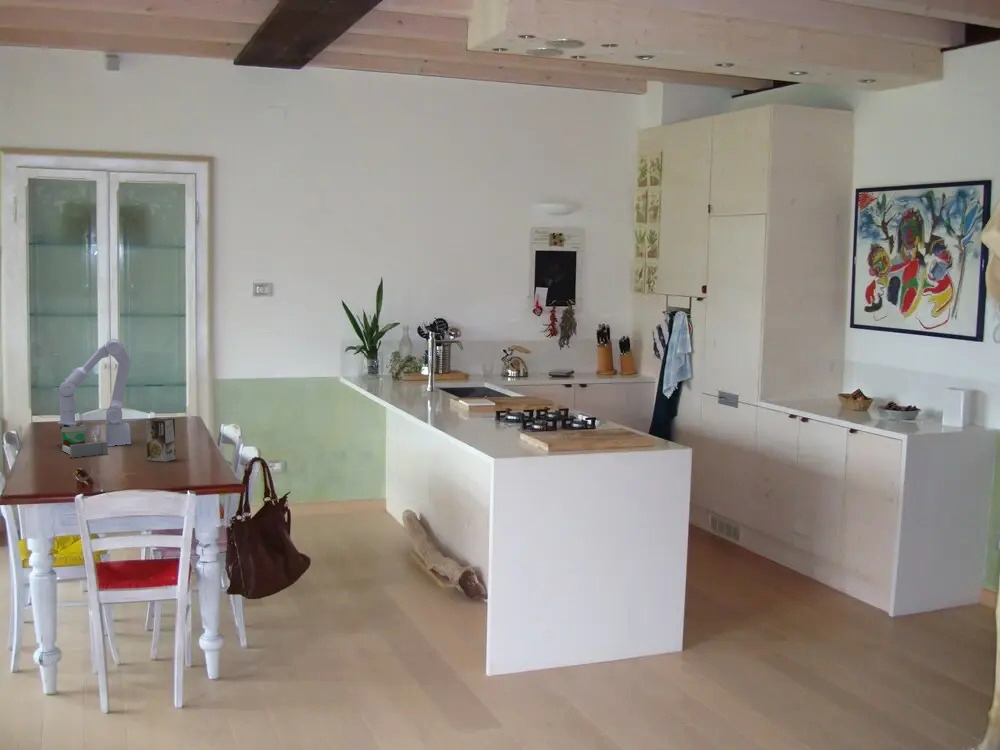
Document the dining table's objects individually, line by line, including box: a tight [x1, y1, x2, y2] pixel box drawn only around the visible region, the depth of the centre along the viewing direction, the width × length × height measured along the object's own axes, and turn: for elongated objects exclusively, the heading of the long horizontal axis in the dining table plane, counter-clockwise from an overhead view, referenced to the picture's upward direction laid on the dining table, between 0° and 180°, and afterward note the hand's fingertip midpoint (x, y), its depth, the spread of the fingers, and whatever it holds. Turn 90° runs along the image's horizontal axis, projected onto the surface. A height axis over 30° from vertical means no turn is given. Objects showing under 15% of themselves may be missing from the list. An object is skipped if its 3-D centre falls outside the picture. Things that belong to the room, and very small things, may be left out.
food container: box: [60, 422, 88, 447], centre depth 424 cm, size 12×6×10 cm, turn 166°
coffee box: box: [145, 417, 176, 462], centre depth 404 cm, size 9×6×16 cm
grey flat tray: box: [61, 440, 109, 458], centre depth 416 cm, size 14×16×5 cm
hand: (68, 443), depth 430 cm, fingers closed
